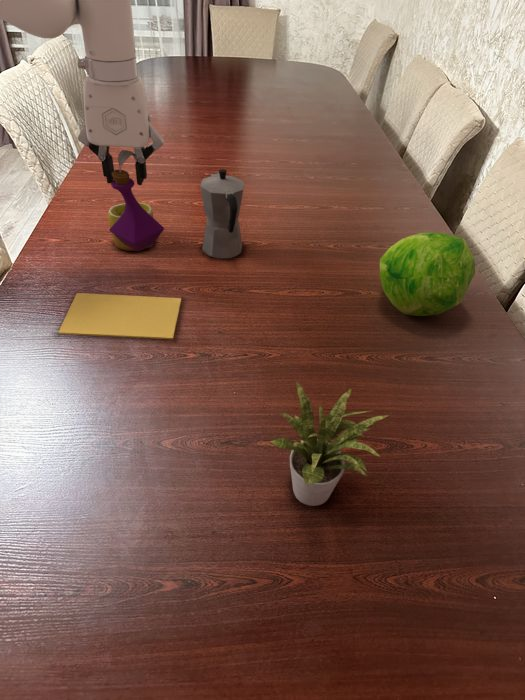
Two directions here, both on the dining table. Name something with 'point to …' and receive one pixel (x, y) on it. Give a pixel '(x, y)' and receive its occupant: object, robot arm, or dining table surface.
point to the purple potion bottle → (132, 212)
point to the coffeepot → (222, 215)
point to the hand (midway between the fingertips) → (125, 180)
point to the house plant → (323, 448)
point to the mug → (116, 213)
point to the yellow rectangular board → (122, 316)
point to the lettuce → (427, 273)
